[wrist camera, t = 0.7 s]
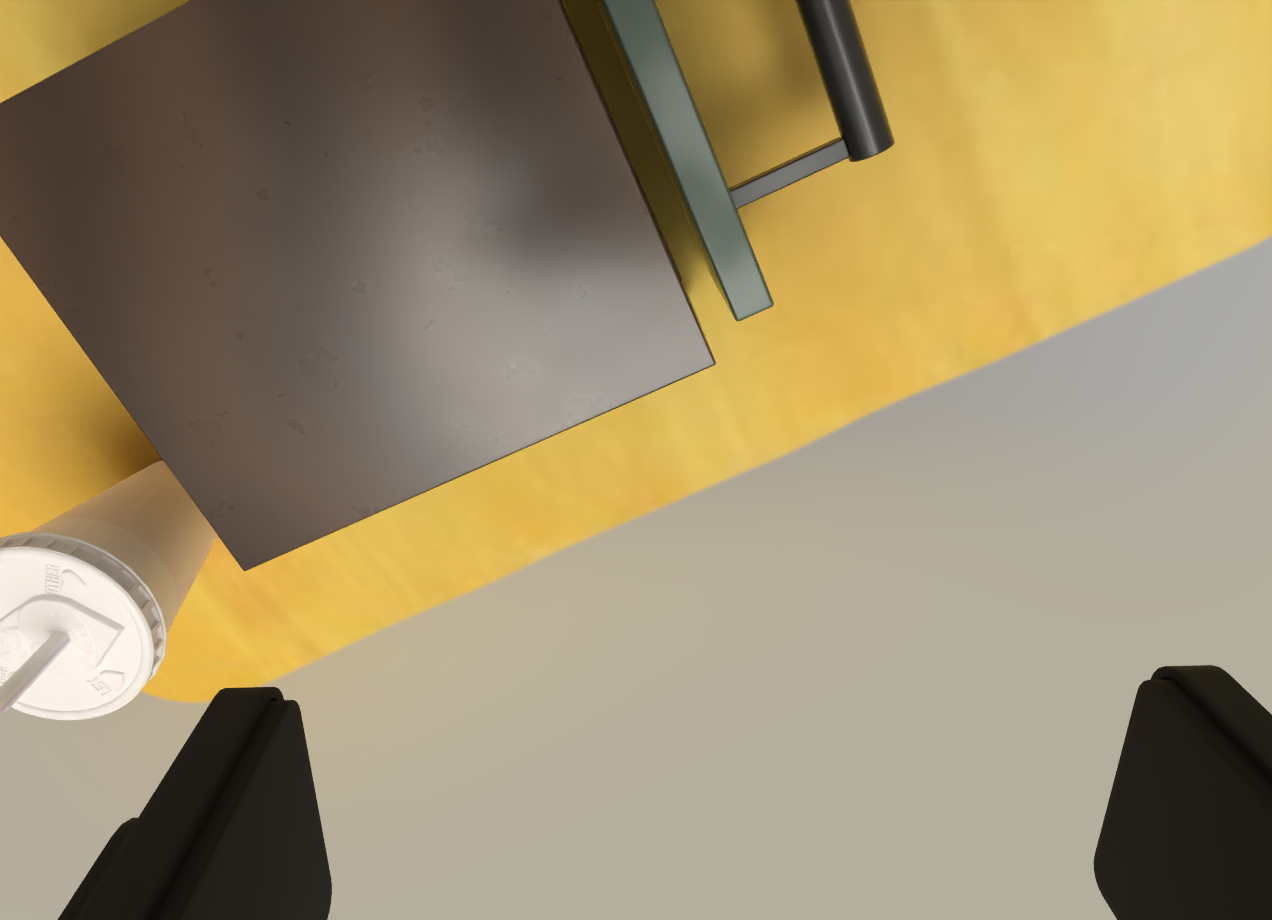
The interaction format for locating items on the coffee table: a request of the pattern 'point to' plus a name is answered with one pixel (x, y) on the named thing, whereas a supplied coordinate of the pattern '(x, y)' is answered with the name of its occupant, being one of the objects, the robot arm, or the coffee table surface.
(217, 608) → the coffee table surface
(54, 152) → the cabinet
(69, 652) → the smoothie
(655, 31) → the drawer
